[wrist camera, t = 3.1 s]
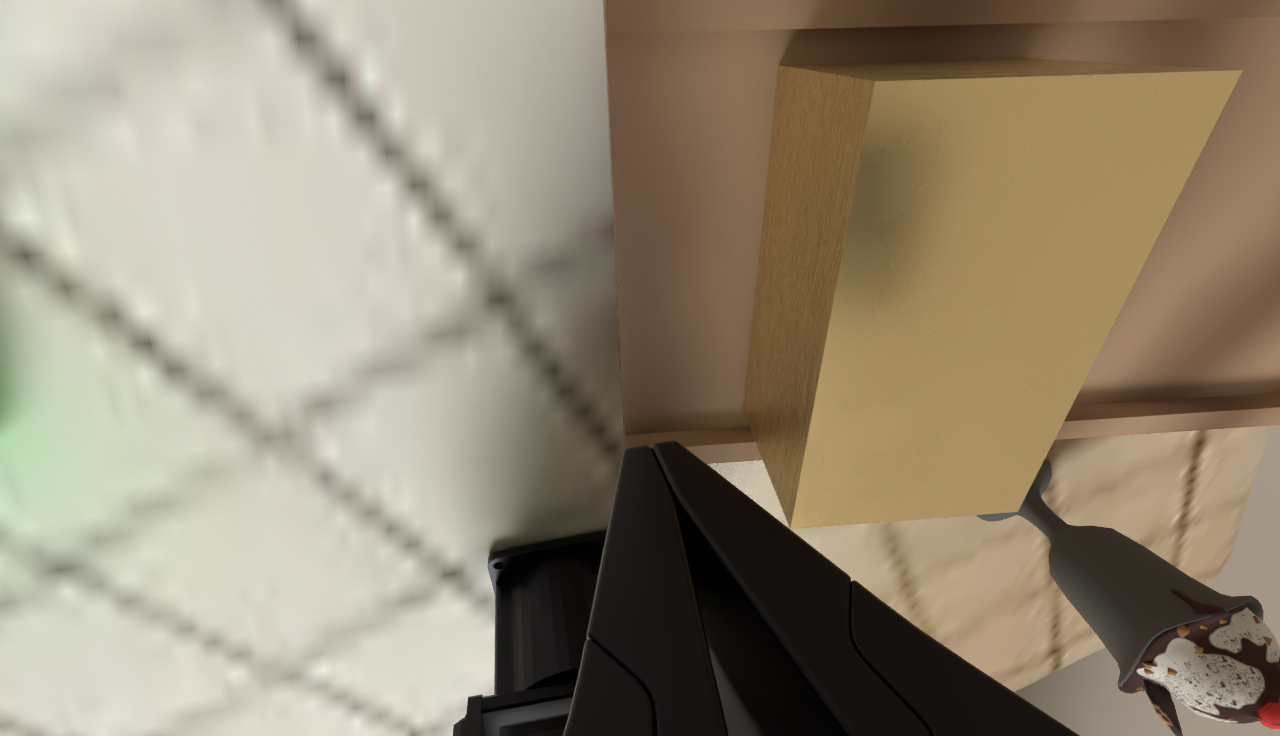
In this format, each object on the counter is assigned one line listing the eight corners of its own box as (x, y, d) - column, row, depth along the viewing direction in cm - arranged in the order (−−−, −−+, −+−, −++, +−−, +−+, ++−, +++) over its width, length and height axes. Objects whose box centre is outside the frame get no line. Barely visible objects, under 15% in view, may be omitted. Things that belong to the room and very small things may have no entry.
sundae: (1075, 432, 30) (1472, 706, 18) (1047, 510, 34) (1360, 781, 22) (970, 465, 30) (1304, 771, 17) (954, 541, 34) (1219, 837, 21)
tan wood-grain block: (743, 410, 18) (790, 529, 13) (778, 65, 12) (875, 81, 8) (918, 399, 18) (1017, 511, 14) (1026, 58, 13) (1242, 70, 8)
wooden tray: (623, 432, 20) (629, 513, 17) (600, -46, 13) (603, -75, 9) (1255, 391, 22) (1380, 459, 18) (1585, -63, 14) (1909, -94, 11)
